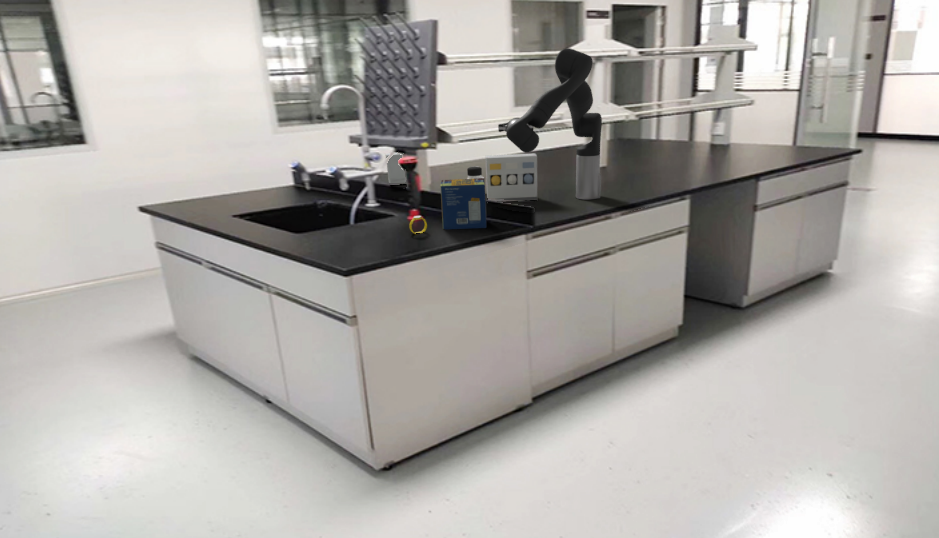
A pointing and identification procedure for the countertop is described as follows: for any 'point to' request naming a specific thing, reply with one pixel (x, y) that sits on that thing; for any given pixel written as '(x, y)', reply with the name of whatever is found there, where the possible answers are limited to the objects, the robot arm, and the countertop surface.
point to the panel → (512, 165)
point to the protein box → (463, 203)
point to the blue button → (528, 178)
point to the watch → (417, 219)
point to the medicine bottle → (474, 173)
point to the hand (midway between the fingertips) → (513, 124)
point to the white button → (511, 179)
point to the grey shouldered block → (395, 169)
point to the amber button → (495, 179)
